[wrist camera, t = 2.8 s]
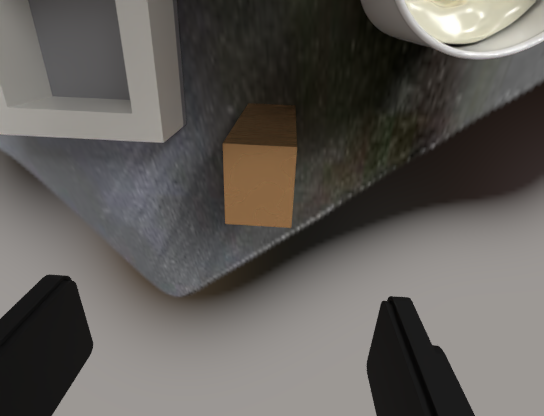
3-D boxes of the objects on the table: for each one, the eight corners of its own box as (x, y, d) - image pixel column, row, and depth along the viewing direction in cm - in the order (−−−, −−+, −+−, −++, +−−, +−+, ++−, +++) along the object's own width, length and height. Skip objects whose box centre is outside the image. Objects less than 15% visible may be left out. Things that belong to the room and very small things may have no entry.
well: (171, -61, 24) (137, -88, 18) (186, 123, 30) (163, 142, 24) (-7, -66, 24) (-91, -95, 19) (43, 116, 30) (-10, 133, 25)
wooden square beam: (295, 105, 29) (297, 147, 18) (291, 161, 31) (291, 227, 20) (248, 103, 29) (222, 143, 18) (248, 159, 31) (225, 223, 20)
